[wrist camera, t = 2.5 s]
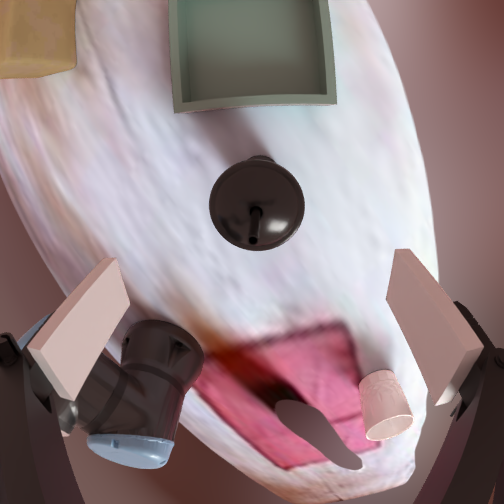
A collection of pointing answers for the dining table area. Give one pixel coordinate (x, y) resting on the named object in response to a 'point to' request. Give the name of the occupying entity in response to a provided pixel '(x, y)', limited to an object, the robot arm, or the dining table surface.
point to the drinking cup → (256, 204)
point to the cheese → (36, 37)
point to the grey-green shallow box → (250, 54)
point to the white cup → (384, 406)
